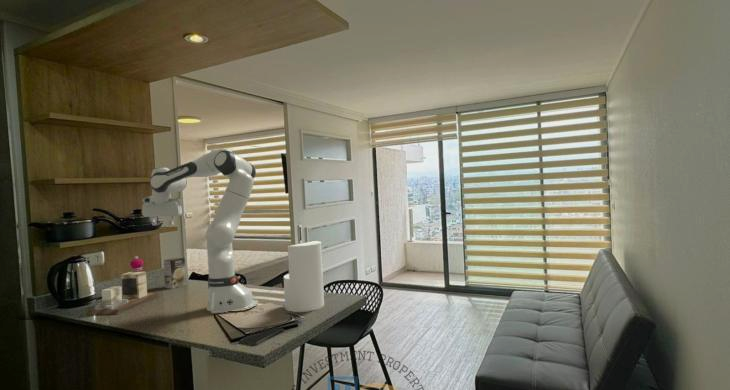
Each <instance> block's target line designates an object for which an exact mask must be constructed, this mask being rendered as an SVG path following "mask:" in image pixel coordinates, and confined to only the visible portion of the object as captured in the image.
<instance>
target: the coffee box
mask: <svg viewBox="0 0 730 390" xmlns="http://www.w3.org/2000/svg"><path fill="white" fill-rule="evenodd" d="M163 266H164V267H163V268H164V270H163V271H164V272H163V273H164V275H163V276H164V289H170V290H171V289H172V290H174V289H177V288H180V287H184V286H186V259H185V257H174V258H169V259H164V260H163Z"/></svg>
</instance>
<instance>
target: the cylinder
mask: <svg viewBox="0 0 730 390" xmlns="http://www.w3.org/2000/svg"><path fill="white" fill-rule="evenodd" d="M322 249H323V247H322V241H320V240H313V241H309V242H307V241H306V242H302V243H297V244H292V245H287V256H288V257H287V259H288V260H287V261H288V262H287V263H288V273H286V274H285V275H283V291H284V293H283V294H284V310H285V311H288V312H291V311H292V312H293V313H306V312H312V311H317V310H319V309H322V308H323V307H324V306H325V291H324V274H323V273H324V271H323V269H324V268H323V250H322Z"/></svg>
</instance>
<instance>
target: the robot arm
mask: <svg viewBox="0 0 730 390" xmlns="http://www.w3.org/2000/svg"><path fill="white" fill-rule="evenodd" d="M256 172H257V171H256V168H255V166H254V165H253V163H250V162H248V161H247V160H245V159H244V158H243V157H242V156H240V155H237V153H236V154H235V153H234V152H233V150H231V149H230V148H228V147H222V148H217V149H215V150H212V151H210V152H208V153H205V154H204V155H201V156H199V157H198V158H195V159H194V160H192V161H189V162H186V163H184V164H182V165H179V166H176V167H174V168H172V169H170V168H168V167H163V166H162V167H161V166H160V167H156V168H153V170H152V171H151V177H150V179H149V185H150V188H152V190H151V195H150V196H146V197H144V198H142V203H143V204H142V207H141V208H142V209H141V211H142V213H141V215H142V216H143V218H149V221H151V225H152V226H157V225H158V222H157V221H155V220H156V217H170V221H168V225H169V226H173V225H174V224H175V220H176V217H177V216H182V214H183V210H182V201H181V199H180V198H178V197H174V198H172V193H173V192H176V193H177V192H182V191H184V190H185V189H186V187H187V184H188V182H187V179H188V178H209V177H214V176H217V175H218V174H220V173H221V174H222V175H223V176H227V177H228V179H229V181H228V183H227V185H226V189H225V191H224V193H223V195H222V197H221V200H220V202H219V204H218V206H217V209H216V212H215V215H214V217H213V220H212V222H210V224H209V225H208V226H207V228H206V232H205V235H206V236H205V237H206V240H205V241H206V250H207V252H206V253H207V261H208V263H207V265H208V278H207V286H208V288H207V289H208V299H207V306H206V311H208V312H210V313H211V314H222V313H224V312H225V313H229V312H228V311H232V310H237V309H243V308H248V307H253V306H256V305H257V306H258V305H259V300H257V299H254V297H253V292H252V290H251V289H249V288H248V287H246V286H245V285H243V284H241V283H240V282H239V280H240V278H241V276H240V275H238V276H237V274H236V273H235V257H234V248H233V241H234V238H235V236H236V233H237V231H238V228H239V225H240V222H241V218H242V215H243V213H244V212H245V209H246V206H247V204H248V201H249V199H250V197H251V193H252V192H253V191H252V190H253V187H254V184H255V181H254V179H255V177H256ZM257 306H256V307H257Z"/></svg>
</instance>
